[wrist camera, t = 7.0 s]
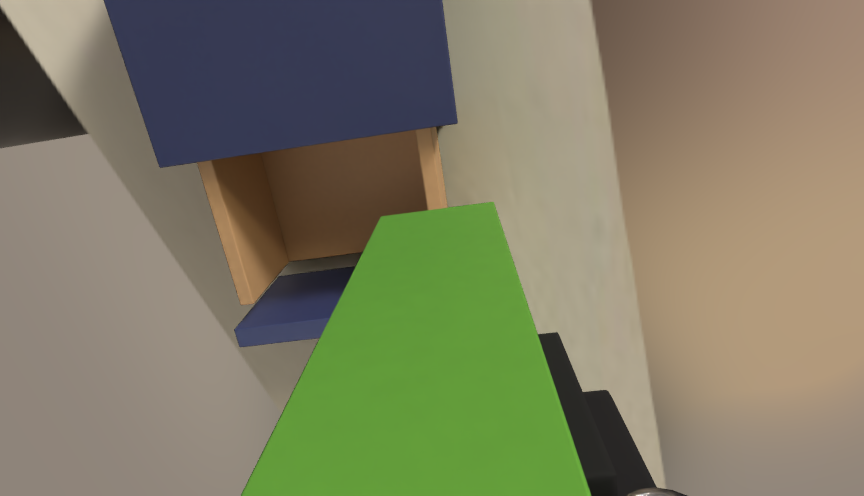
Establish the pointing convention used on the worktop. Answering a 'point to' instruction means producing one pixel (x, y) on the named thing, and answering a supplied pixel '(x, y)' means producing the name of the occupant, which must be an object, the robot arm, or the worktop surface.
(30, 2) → the worktop surface
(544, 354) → the robot arm
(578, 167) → the worktop surface
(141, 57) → the cabinet
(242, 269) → the drawer
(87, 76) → the worktop surface
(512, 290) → the green rectangular box
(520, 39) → the worktop surface
